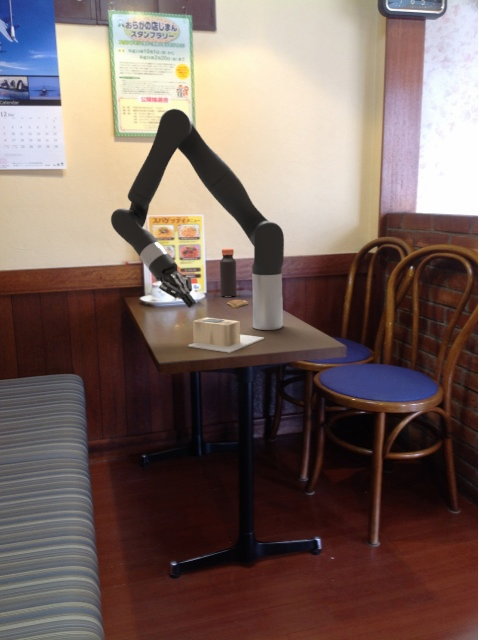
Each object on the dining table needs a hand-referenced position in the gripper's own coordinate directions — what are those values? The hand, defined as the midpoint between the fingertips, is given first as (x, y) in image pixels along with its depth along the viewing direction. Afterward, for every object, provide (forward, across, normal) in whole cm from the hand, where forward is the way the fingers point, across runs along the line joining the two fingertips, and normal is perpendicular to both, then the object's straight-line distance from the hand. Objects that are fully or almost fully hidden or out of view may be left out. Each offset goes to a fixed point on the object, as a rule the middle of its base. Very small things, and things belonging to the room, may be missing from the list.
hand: (192, 305), depth 164 cm
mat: (+14, +2, 0) cm, 15 cm away
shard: (-6, +55, +22) cm, 60 cm away
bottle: (-18, +71, +32) cm, 80 cm away
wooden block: (+6, 0, +3) cm, 7 cm away
